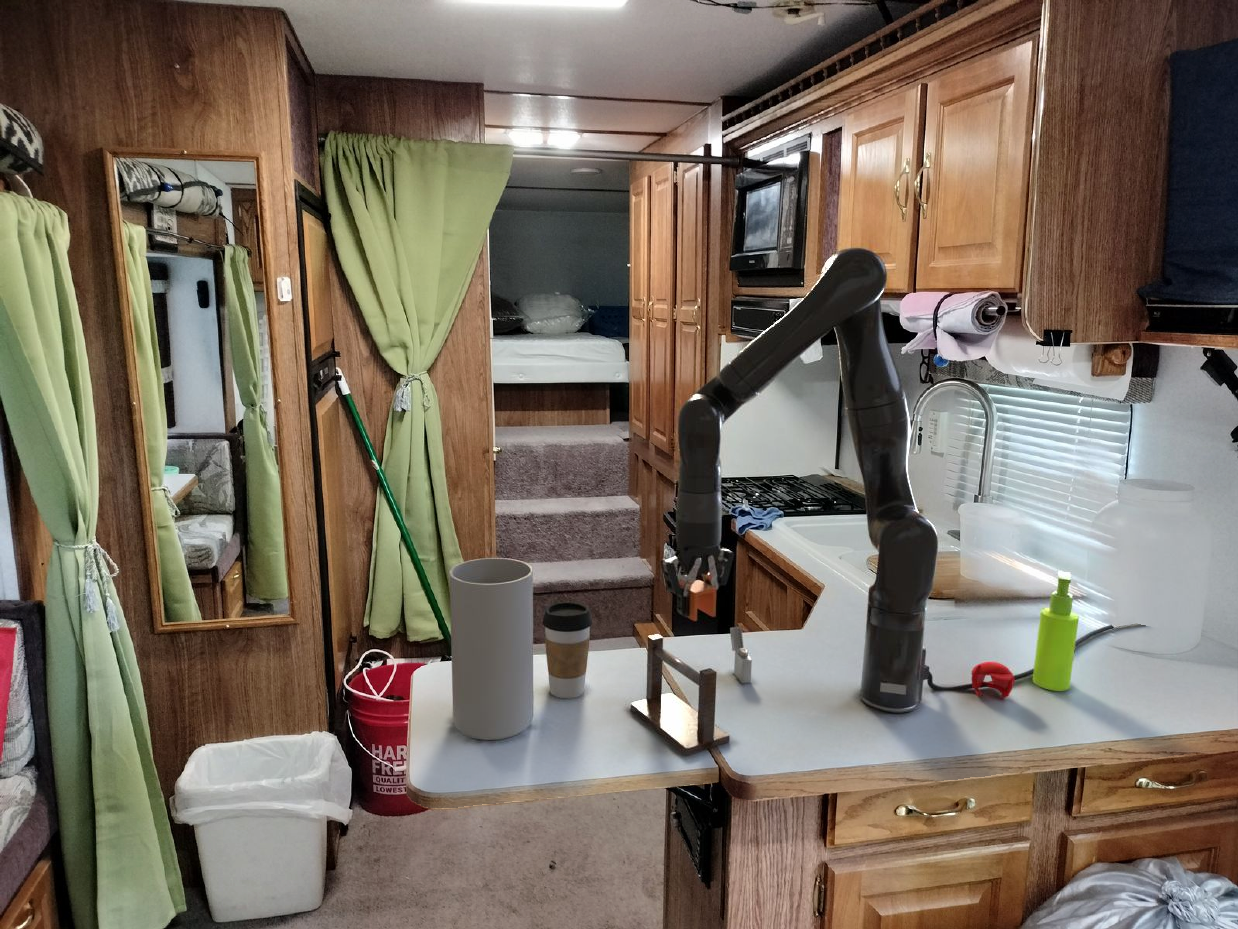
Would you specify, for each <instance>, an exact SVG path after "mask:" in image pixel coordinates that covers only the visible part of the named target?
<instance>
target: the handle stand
mask: <svg viewBox="0 0 1238 929" xmlns="http://www.w3.org/2000/svg"><path fill="white" fill-rule="evenodd" d="M646 649H647V651H646V652H647V654H646V655H647V656H646V657H647V658H646V693H645V695H646V696H645V699H642V700H638V701H634V702H630V711H632V712H633V713H634V714H635V715H636V716H637V717H639V718H640V719H641V720H642V721H643V722H645V724H647V725H649V727H650V728H651V729H653V730H654V731H656V733H658V734H659V735H660V736H661V737H663V738H664V739H665V740H666V741H668V742H669V744H671V745H673V746H674V748H676V749H677V750H678V751H679V752H681V753H682V754H683V755H684V756H686V757H687V756H691V755H693V754H697V753H700V752H703V751H707V750H711V749H713V748H717V747H719V746H722V745H726V744H729V743H730V738H731V736H730V734H728V733H727V732H726V731H724V730H723V729H722V728H721V727H720V726H718V725H717V724H715V723H716V722H715V721H716V697H717V677H718V676H717V674H718V673H717V671H716V670H714V669H712V668H711V667H709V668H705V669H702V670H699V671H697V670H695V669H694V668H693V667H691V666H690V665H688V664H686V663H685V662H683V660H681V659H679V658H678V657H676V656H674V655H673V654H672V653H670V652H668V651H667V650H666V649H664V637H663V636H662V635H661V634H659V633H657V634H652V635H648V636H647V648H646ZM663 662H664V663H665V664H667V665H668V666H669V667H671V668H672V669H674V670H675V671H677V672H678V673H679V674H681V675H683V676H684V677H685V678H687V679H688V680H689V681H691V682H692V683H694V684H696V685H697V686H698V700H697V702H698V703H697V710H696V709H695V708H693V707H692V706H690V705H689V704H688V703H686V702H685V701H684V700H682V699H681V698H680V697H678V696H677V695H676V694H674V693H673V692H668V693H664V694H662V693H663V692H662V691H663Z"/></svg>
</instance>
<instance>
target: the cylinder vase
mask: <svg viewBox="0 0 1238 929" xmlns="http://www.w3.org/2000/svg"><path fill="white" fill-rule="evenodd" d="M449 598H450V599H449V605H450V606H449V607H450V608H449V609H450V644H451V646H450V647H451V648H450V650H451V688H452V689H451V690H452V692H451V693H452V721H453V725H454V727H455V728H456V730H457V731H458V732H460V733H461V734H463V735H464V736H466V737H469V738H472V739H476V740H486V741H490V740H491V741H493V740H495V741H496V740H503V739H507V738H511V737H514V736H516V735H519V734H520V733H522V732H523V731H525V730H526V729H528V727H529V726H530V725H531V723H532V722H533V720H534V568H533V566H532V565H530V564H529V563H527V562H525V561H522V560H520V559H519V560H518V559H514V558H508V557H507V558H506V557H485V558H484V557H483V558H476V559H470V560H466V561H462V562H460V563H458V564H455V565H453V566H452V568H450V570H449Z"/></svg>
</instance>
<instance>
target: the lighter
mask: <svg viewBox="0 0 1238 929" xmlns="http://www.w3.org/2000/svg"><path fill="white" fill-rule="evenodd" d="M729 632H730V644H731V651H733V652H734V665H733V666H734V667H733V668H734V669H733V674H734V675H735V677H736V678H737V679H738V681H739V682H740V683H741V684H750V683H751V682H752V668H753V667H752V666H753V665H752V664H753V659H752V658H751V656H750V655H749V651H748V650H747V648H746V647H744V639H743V638H744V637H743V630H742V626H734V627H730V628H729Z"/></svg>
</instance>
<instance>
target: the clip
mask: <svg viewBox="0 0 1238 929" xmlns="http://www.w3.org/2000/svg"><path fill="white" fill-rule="evenodd" d="M689 596H690V615H689V616H688V617H687V618H688V619H689V620H691V621H693V622H697V621H698V610H699V611H701V612H703V613H705V614H707V615H708V616H710V617H711V618H714V617H716V611H717V590H716V588H714V587H712V586H711V585H709V584H707V583H705V582H704V580H700V579H695V582H694V584H692V586H691V590H690V594H689Z"/></svg>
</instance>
